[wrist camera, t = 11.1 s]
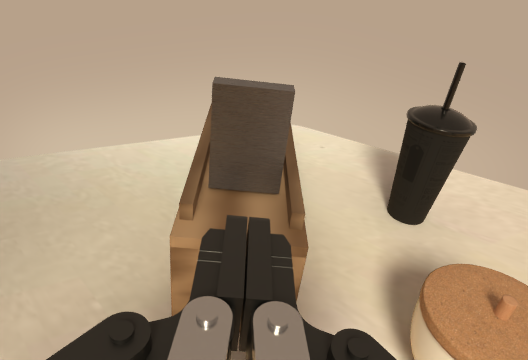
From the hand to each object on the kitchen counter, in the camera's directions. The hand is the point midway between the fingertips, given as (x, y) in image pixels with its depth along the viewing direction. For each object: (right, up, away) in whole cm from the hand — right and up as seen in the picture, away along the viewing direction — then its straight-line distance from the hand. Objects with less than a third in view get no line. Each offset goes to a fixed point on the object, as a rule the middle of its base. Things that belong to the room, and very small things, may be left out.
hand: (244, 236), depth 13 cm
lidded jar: (+17, -14, +18) cm, 29 cm away
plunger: (-1, +6, +27) cm, 28 cm away
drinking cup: (+20, -3, +38) cm, 43 cm away
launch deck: (-2, -5, +30) cm, 30 cm away
